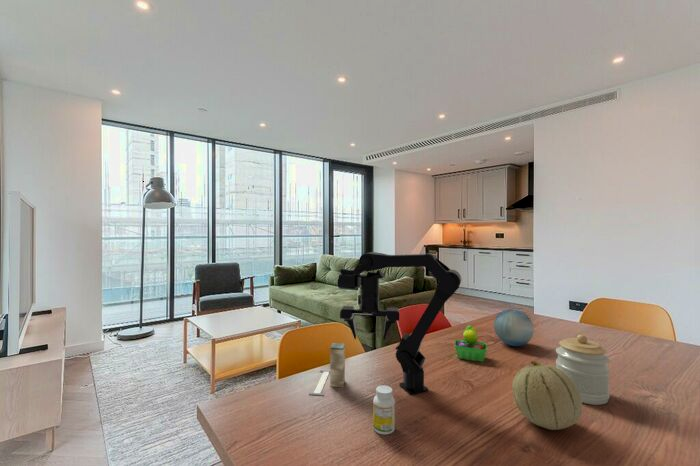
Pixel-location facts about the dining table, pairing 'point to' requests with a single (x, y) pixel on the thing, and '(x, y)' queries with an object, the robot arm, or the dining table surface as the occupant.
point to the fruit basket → (470, 346)
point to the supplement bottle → (384, 410)
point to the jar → (585, 368)
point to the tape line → (321, 383)
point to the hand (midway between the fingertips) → (369, 339)
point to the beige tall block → (337, 364)
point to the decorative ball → (513, 327)
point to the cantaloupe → (547, 396)
